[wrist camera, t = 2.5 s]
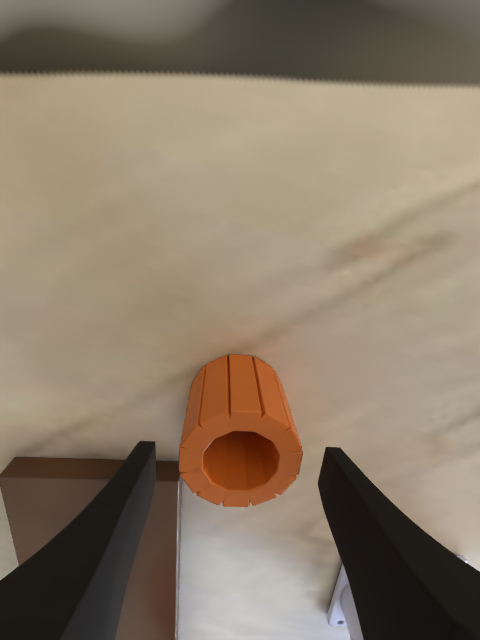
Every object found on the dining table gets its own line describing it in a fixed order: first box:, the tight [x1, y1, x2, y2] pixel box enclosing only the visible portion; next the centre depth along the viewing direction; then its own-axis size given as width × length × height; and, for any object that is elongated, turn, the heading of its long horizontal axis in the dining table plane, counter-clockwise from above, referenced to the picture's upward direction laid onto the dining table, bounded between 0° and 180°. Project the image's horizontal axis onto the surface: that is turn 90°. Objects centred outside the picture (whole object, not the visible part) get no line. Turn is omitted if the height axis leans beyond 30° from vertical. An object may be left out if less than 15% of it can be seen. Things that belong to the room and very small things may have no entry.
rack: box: [0, 457, 182, 640], centre depth 19 cm, size 10×20×7 cm, turn 175°
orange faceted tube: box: [179, 354, 303, 507], centre depth 15 cm, size 5×5×5 cm
